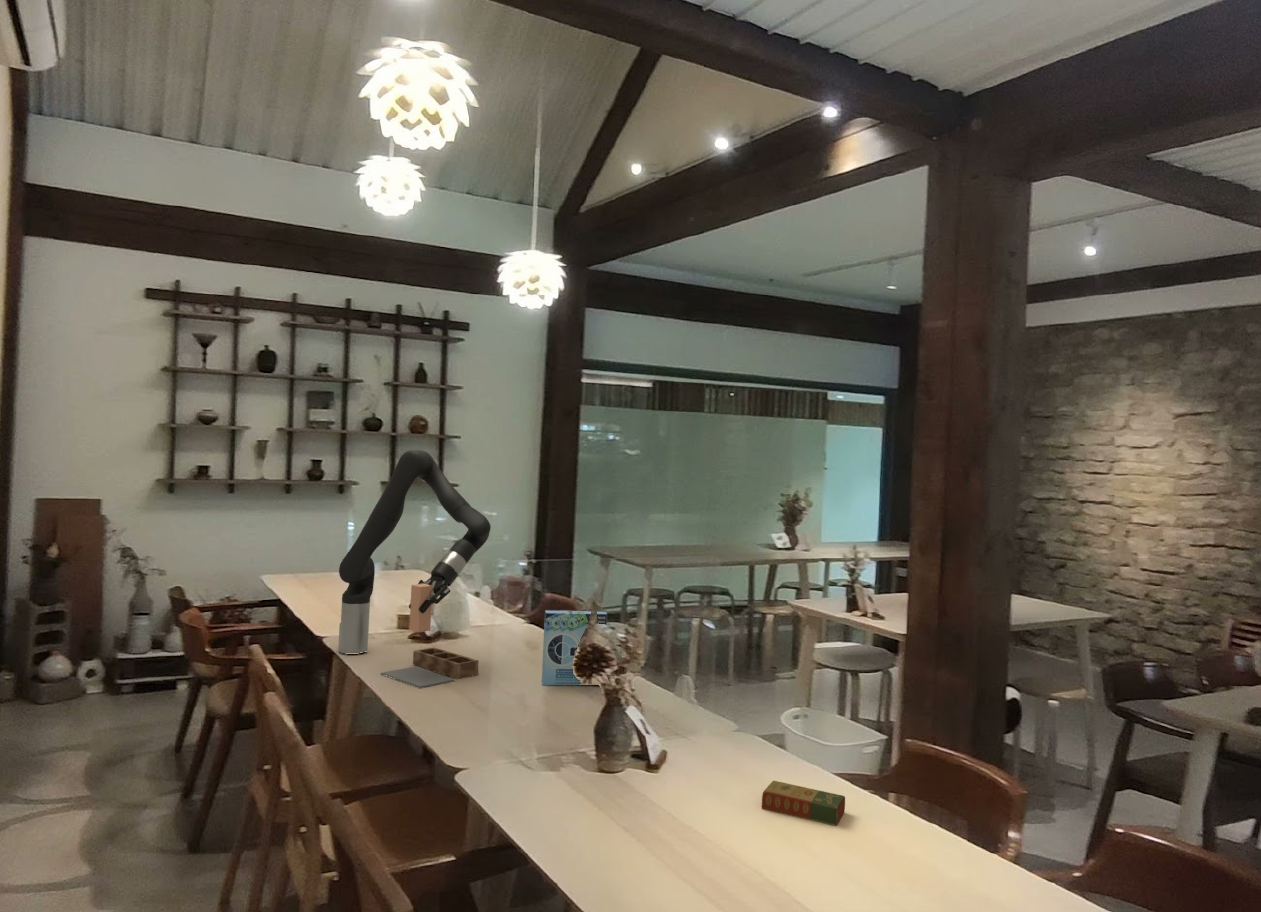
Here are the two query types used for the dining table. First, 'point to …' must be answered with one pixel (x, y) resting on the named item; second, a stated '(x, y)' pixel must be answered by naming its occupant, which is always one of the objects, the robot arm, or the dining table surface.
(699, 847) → the dining table surface
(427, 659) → the stand
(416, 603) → the block
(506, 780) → the dining table surface
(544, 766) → the dining table surface
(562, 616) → the gum box
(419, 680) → the mat
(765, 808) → the carton
